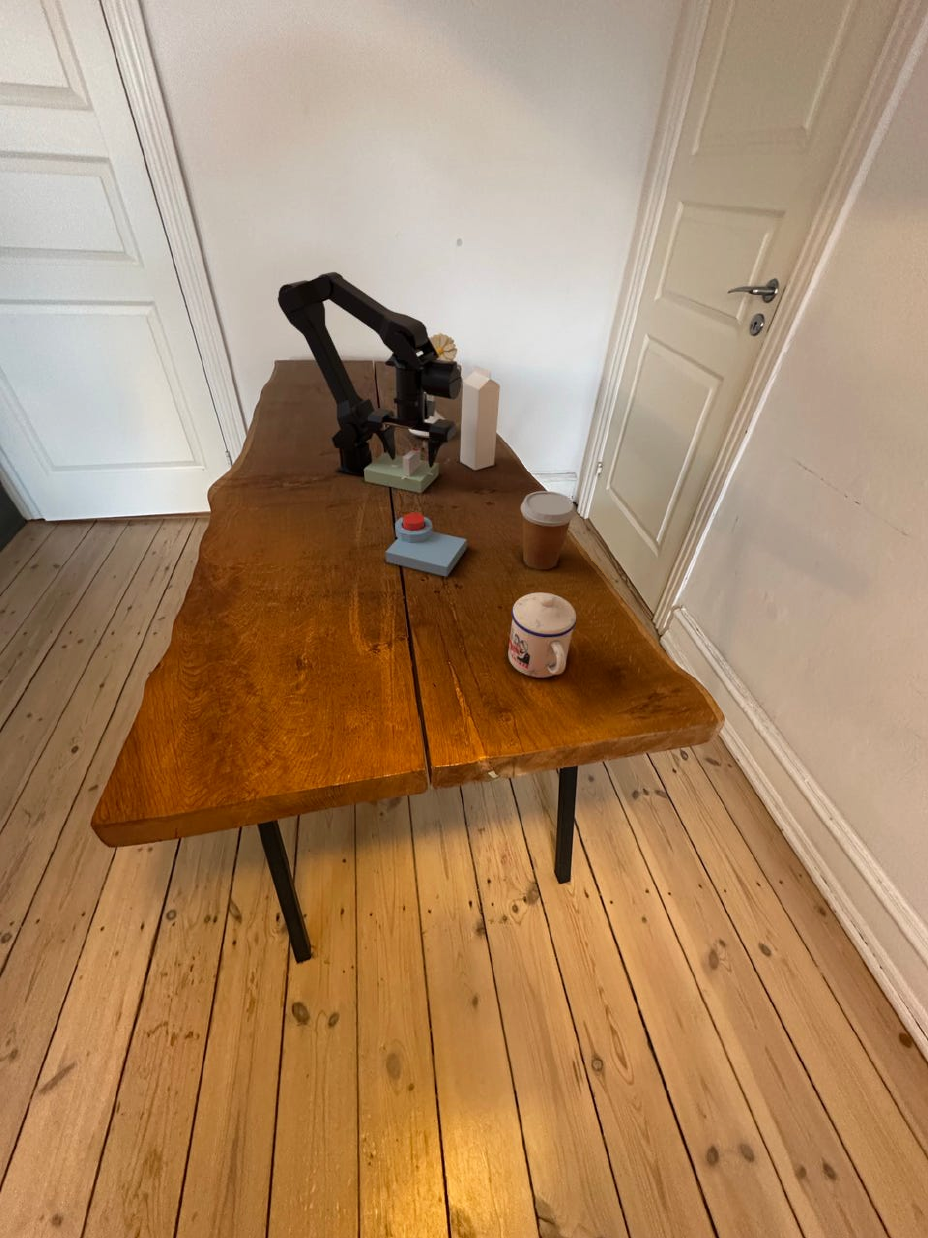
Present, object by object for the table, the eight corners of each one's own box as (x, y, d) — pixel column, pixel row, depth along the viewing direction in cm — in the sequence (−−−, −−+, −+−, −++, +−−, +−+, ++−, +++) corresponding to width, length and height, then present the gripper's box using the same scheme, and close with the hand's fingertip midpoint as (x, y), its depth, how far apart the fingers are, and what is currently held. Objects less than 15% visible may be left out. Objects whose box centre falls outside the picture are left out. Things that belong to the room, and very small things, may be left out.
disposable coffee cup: (532, 580, 97) (541, 520, 90) (505, 553, 104) (511, 495, 96) (575, 567, 101) (587, 509, 93) (546, 542, 107) (555, 485, 100)
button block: (378, 560, 100) (377, 541, 98) (405, 530, 109) (405, 512, 106) (446, 577, 97) (447, 558, 95) (469, 545, 105) (469, 527, 103)
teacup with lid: (498, 643, 84) (504, 582, 77) (552, 633, 87) (563, 573, 79) (526, 700, 76) (536, 637, 68) (585, 688, 78) (602, 626, 70)
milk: (474, 471, 131) (479, 374, 116) (459, 461, 134) (462, 366, 120) (494, 464, 134) (501, 369, 119) (479, 456, 137) (484, 362, 123)
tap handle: (409, 476, 120) (408, 457, 118) (403, 474, 121) (402, 456, 118) (420, 465, 125) (420, 447, 122) (414, 464, 125) (414, 446, 122)
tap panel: (362, 483, 124) (361, 470, 122) (384, 464, 132) (384, 451, 130) (423, 496, 120) (423, 483, 118) (442, 476, 128) (443, 463, 126)
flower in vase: (400, 437, 144) (396, 333, 128) (419, 423, 153) (418, 323, 136) (446, 446, 141) (448, 340, 125) (462, 431, 149) (466, 330, 133)
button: (399, 529, 102) (399, 520, 101) (408, 519, 105) (408, 511, 104) (419, 533, 101) (419, 525, 100) (427, 523, 104) (427, 515, 103)
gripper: (466, 386, 115) (464, 456, 125) (387, 373, 120) (390, 442, 130) (447, 402, 107) (445, 476, 117) (362, 388, 112) (368, 460, 122)
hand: (412, 463), depth 122 cm, fingers open, 9 cm apart
